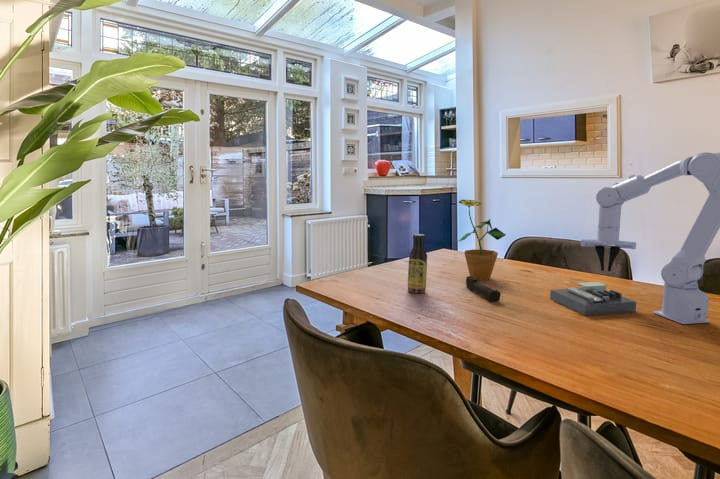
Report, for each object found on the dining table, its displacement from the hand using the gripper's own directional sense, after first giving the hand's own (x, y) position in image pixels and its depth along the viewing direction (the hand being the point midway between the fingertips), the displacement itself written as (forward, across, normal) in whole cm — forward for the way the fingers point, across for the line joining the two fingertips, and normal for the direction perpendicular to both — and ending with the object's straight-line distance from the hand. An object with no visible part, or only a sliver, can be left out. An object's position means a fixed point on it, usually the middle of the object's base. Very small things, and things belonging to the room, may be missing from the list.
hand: (605, 270), depth 128 cm
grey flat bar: (+6, -5, -10) cm, 13 cm away
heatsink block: (+9, -4, -8) cm, 13 cm away
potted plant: (+9, -41, +12) cm, 43 cm away
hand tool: (+10, -36, -10) cm, 39 cm away
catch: (+6, -4, -2) cm, 8 cm away
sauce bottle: (+9, -56, -16) cm, 59 cm away
